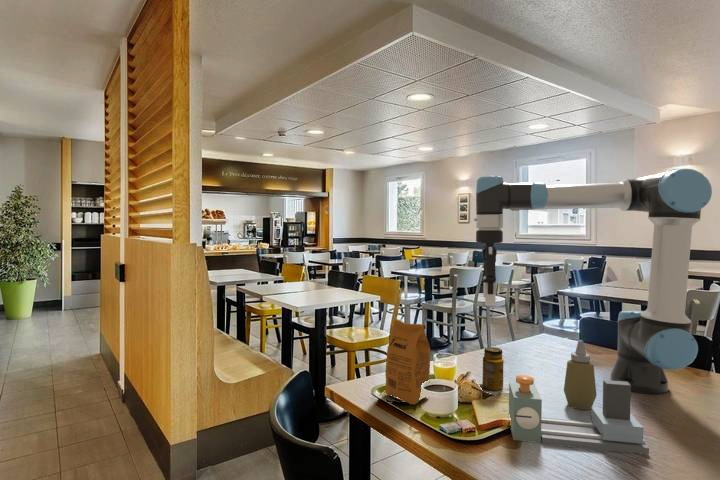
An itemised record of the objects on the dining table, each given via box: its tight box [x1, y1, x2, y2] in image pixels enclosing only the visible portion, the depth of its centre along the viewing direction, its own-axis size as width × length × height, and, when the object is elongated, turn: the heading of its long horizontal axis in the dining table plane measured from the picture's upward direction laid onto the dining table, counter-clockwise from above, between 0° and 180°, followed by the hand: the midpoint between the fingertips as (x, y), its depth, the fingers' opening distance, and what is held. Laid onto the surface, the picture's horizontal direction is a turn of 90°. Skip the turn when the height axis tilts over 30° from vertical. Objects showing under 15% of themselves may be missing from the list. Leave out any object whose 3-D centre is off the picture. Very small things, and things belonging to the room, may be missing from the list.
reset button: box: [515, 374, 535, 393], centre depth 105 cm, size 4×4×3 cm
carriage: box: [590, 379, 644, 444], centre depth 101 cm, size 8×9×12 cm
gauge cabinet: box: [508, 381, 543, 444], centre depth 105 cm, size 6×10×10 cm, turn 167°
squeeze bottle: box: [563, 340, 597, 411], centre depth 120 cm, size 8×8×18 cm
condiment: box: [478, 346, 509, 395], centre depth 133 cm, size 7×8×12 cm
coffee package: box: [385, 318, 431, 406], centre depth 127 cm, size 10×12×22 cm
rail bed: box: [541, 416, 650, 455], centre depth 103 cm, size 22×11×2 cm, turn 77°
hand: (489, 301), depth 130 cm, fingers open, 13 cm apart
